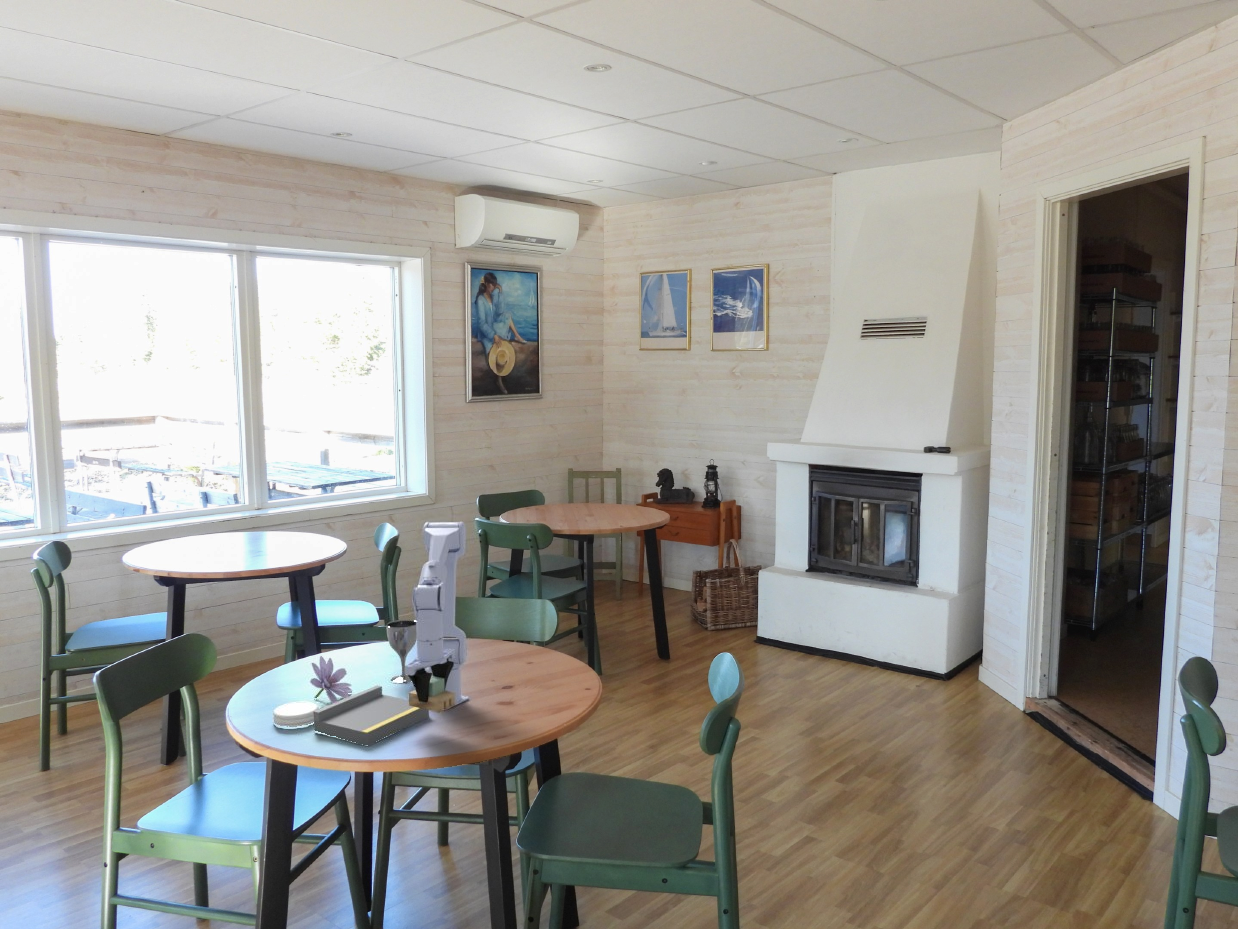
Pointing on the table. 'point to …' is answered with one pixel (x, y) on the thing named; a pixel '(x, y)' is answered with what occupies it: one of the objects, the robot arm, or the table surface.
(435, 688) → the green block
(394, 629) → the silver goblet
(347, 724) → the dock
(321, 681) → the water lily
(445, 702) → the pallet
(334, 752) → the table surface
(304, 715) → the white round disc
